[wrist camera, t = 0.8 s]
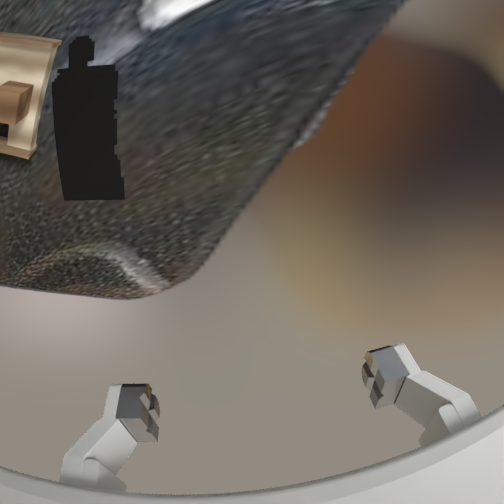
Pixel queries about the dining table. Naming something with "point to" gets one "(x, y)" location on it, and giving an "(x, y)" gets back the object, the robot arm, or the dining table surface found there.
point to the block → (14, 101)
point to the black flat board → (87, 126)
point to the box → (31, 72)
